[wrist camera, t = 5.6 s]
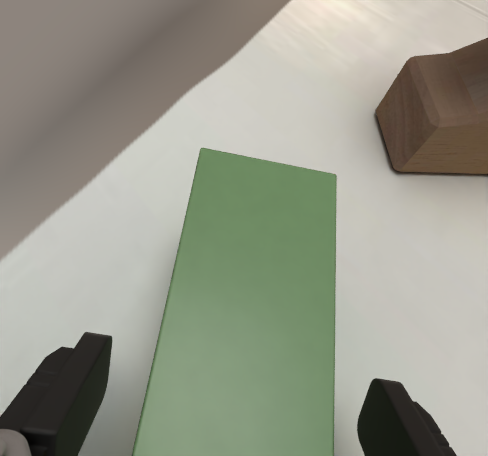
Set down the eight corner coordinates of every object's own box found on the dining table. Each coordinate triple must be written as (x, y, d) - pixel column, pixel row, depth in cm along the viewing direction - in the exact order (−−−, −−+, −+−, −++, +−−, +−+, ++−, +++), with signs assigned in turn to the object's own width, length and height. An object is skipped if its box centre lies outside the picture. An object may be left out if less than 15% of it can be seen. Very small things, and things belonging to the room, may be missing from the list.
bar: (121, 584, 14) (65, 748, 7) (192, 241, 20) (200, 146, 13) (255, 598, 14) (332, 765, 7) (282, 257, 21) (337, 173, 14)
